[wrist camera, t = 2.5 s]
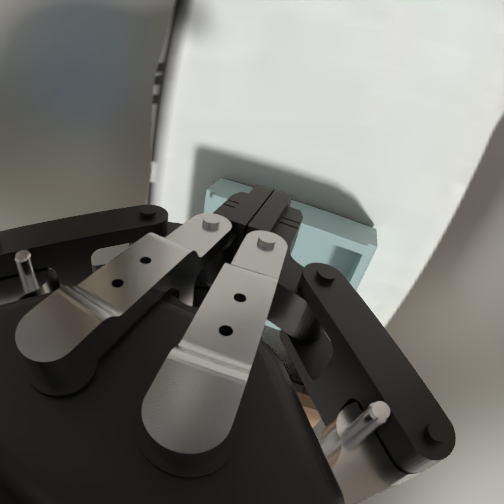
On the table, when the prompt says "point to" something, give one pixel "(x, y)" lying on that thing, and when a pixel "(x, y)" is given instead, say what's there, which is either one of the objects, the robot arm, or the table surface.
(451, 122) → the table surface
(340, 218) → the light blue square tray
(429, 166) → the table surface
